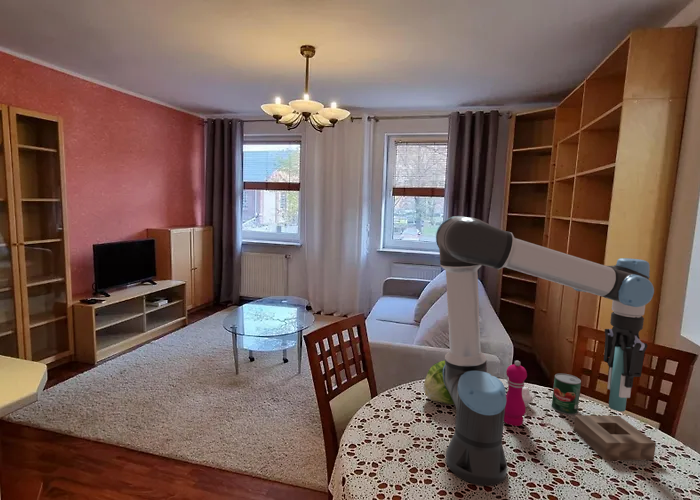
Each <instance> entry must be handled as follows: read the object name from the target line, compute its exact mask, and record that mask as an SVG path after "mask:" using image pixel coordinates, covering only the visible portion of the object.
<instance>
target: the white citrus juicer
mask: <svg viewBox="0 0 700 500" xmlns="http://www.w3.org/2000/svg"><path fill="white" fill-rule="evenodd" d="M522 398H523V400H524V403H525V407H526V408H527V407H528V406H529V405H530V403H531V402H532V401H533V395H532V394H531V393H530V390H529V388H528V387H527V386H525V385H524V387H523V388H522Z"/></svg>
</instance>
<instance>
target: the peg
mask: <svg viewBox="0 0 700 500" xmlns="http://www.w3.org/2000/svg"><path fill="white" fill-rule="evenodd" d="M621 373H624V361H623V351H622V349H621V346H615V353H614V362H613V371H612V380H611V389H610V390H609V399H608V408H609V409H611V410H613V411H615V412H616V411H617V412H626V406H627V399H628V398H621V397H619V390H620V381H621Z"/></svg>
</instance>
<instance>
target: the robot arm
mask: <svg viewBox="0 0 700 500" xmlns="http://www.w3.org/2000/svg"><path fill="white" fill-rule="evenodd" d="M435 243H436V245H437V248H438V249H439V265H440V268H442V269H443V270H445V277H446V279H445V280H446V297H447V298H446V303H447V318H448V319H447V320H448V337H449V338H448V339H449V340H448V341H449V343H448V344H449V351H448V352H447V353H445V355H444V360H445V365H444V368H443V380H444V384H445V386H446V388H447V389H448V391H449V393H450V395H451V398H452V400H453V402H454V404H455V405H454V407H455V411H456V413H455V425H454V426H455V427H454V432H453V435H452V437H451V440H450V442H449V444H448V447H447V448H446V454H445V462H446V466H447V467H448V469H449V471H451V472H452V474H454V475H455V476H457V477H458V478H460V479H461V480H464V481H466V482H467V483H470V484H475V485H478V486H495V485H499V484H500V483H503V481H505V479H506V477H507V473H508V463H507V459H506V455H505V451H504V446H503V443H502V442H503V434H504V433H503V432H504V423H505V422H504V415H505V406H506V394H507V391H506V390H507V389H506V387H505V384H504V383H503V382H502V381H501V380H500V379H499V378H498V377H497V376H495V375H492V374H491V373H488V365H487V356H486V354H484V353H483V352H482V351H481V332H480V331H481V329H480V328H481V327H480V326H481V325H480V304H479V303H480V302H479V276H478V275H479V273H478V270H479V269H480V268H481V267H482V266H484V267H489V268H493V269H496V270H501V269H503V268H507V269H509V270H513V271H517V272H519V273H523V274H526V275H529V276H532V277H536V278H540V279H542V280H545V281H549V282H553V283H556V284H559V285H562V286H566V287H570V288H572V289H573V290H574V291H577V292H583V293H588V294H589V293H590V294H592V295H595V296H599V297H602V298H605V299H608V300H611V301H612V304H611V310H612V311H613V312H611V315H610V321H609V322H610V325H611V326H612V328H605V329H604V336H605V340H604V349H603V350H604V351H603V362H605V363H607V367H608V371H607V373H608V374H607V377H608V380H607V386H606V387H607V389H608V390H609V391H610V389H611V380H612V371H613V362H614V353H615V346H621V349H622V351H623V361H624V373H621V381H620V390H619V397H621V398H627V399H630V398H631V392H632V388H633V384H634V378H640V377H641V376H642V373H643V372H642V371H643V365H644V360H645V359H644V358H645V353H646V350H647V348H648V344H647V343H646V342H642V341H641V340H640V339H641V338H640V332H641V330H643V328H644V323H645V322H644V321H645V317H644V315H645V311H646V305H647V304H649V303H650V302H651V300H652V299H653V296H654V294H655V287H654V285H653V283H652V282H651V280H650V272H651V271H650V268H651V267H650V263H649V262H648V261H647V260H644V259H638V258H629V257H628V258H627V257H625V258H624V257H623V258H622V257H621V258H618V259H617V260H616V264H615V265H604V264H602V263H601V264H600V263H597V262H594V261H591V260H588V259H584V258H581V257H578V256H575V255H572V254H567V253H564V252H562V251H558V250H555V249H551V248H548V247H546V246H542V245H539V244H535V243H532V242H529V241H526V240H522V239H520V238H516V237H515V236H514V234H513V232H510V231H508V230H507V231H506V230H504V229H501V228H499V227H496V226H494V225H491V224H489V223H487V222H485V221H483V220H481V219H479V218H475V217H471V216H470V217H469V216H468V217H467V216H464V215H462V216H461V215H456V216H450V217H449V218H447V219H445V220H444V221H442V222H441V224H440V225H439V226H438V228H437V230H436V234H435Z"/></svg>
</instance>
